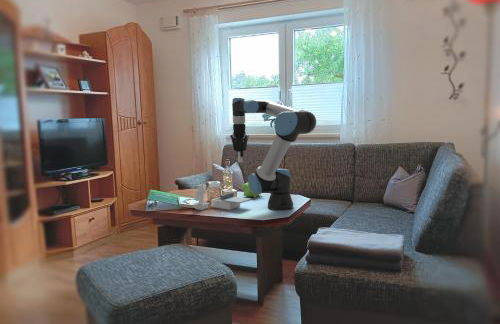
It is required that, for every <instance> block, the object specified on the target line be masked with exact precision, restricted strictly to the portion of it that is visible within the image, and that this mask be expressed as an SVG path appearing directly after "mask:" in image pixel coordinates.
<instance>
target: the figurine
mask: <svg viewBox="0 0 500 324" xmlns="http://www.w3.org/2000/svg"><path fill="white" fill-rule="evenodd" d="M205 194H207V185H206V184H198V185H197V191H195V193H194V199H195V201H196V202H195V203H193V204H192V206H193V207H194V209H195V210H199V211H204V210H206V209H208V207H209V205H210V204H211V203H210V202H205V201H204V195H205Z"/></svg>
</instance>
